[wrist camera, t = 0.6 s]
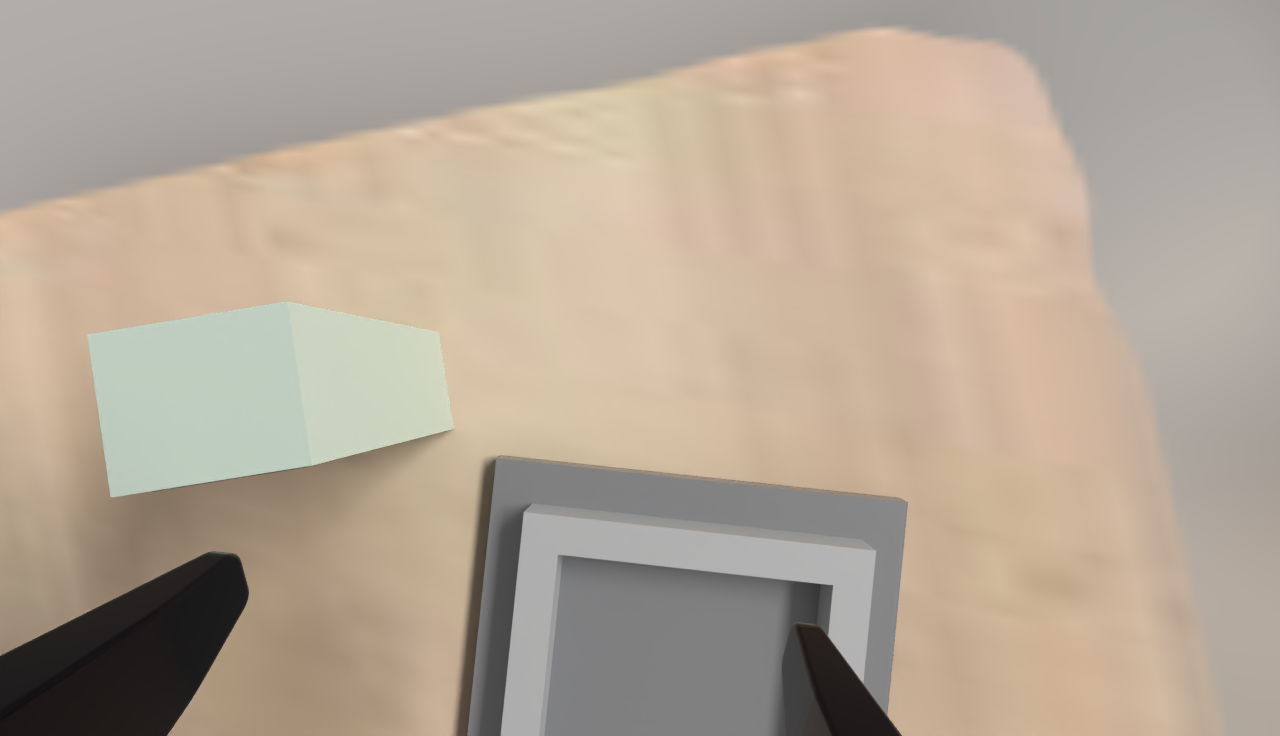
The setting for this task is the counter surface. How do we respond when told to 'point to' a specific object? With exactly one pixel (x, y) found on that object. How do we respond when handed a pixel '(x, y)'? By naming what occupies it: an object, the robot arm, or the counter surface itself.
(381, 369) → the rectangular block
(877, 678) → the charging dock
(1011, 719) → the counter surface
